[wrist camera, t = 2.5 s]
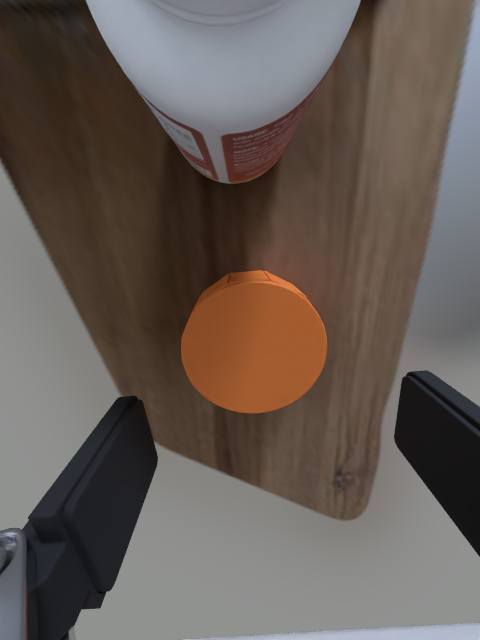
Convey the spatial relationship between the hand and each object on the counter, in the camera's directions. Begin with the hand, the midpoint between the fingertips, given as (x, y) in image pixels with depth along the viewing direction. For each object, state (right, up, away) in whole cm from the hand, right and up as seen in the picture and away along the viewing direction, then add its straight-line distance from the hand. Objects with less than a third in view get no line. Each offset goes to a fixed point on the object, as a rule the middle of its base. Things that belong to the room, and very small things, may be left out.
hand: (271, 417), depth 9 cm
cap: (0, +3, +7) cm, 8 cm away
